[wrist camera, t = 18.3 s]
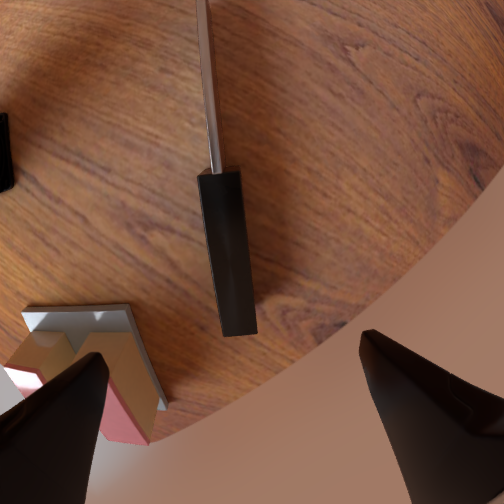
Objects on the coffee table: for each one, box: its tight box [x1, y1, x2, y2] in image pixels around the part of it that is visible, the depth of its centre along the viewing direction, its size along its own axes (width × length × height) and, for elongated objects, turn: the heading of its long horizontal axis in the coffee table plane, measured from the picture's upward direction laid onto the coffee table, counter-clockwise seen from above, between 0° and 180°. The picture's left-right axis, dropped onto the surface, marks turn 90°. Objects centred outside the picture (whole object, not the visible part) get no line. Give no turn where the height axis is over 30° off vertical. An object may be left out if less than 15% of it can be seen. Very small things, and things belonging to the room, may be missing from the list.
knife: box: [196, 0, 258, 337], centre depth 15 cm, size 21×2×4 cm, turn 5°
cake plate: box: [4, 304, 168, 410], centre depth 20 cm, size 12×12×7 cm
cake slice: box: [70, 332, 160, 446], centre depth 19 cm, size 8×4×6 cm, turn 5°
